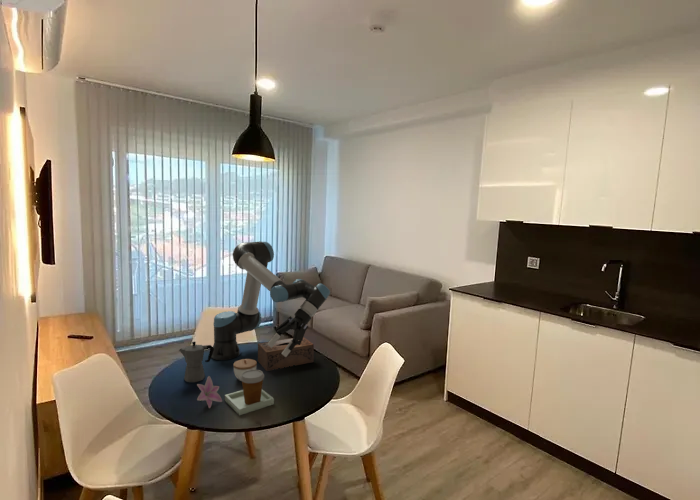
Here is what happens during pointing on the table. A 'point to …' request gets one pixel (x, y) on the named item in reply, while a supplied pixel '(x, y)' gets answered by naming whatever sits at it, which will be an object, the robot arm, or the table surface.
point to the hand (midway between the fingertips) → (276, 350)
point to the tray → (241, 408)
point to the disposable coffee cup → (252, 386)
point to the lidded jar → (244, 366)
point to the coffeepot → (195, 361)
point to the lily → (209, 392)
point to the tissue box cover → (275, 359)
